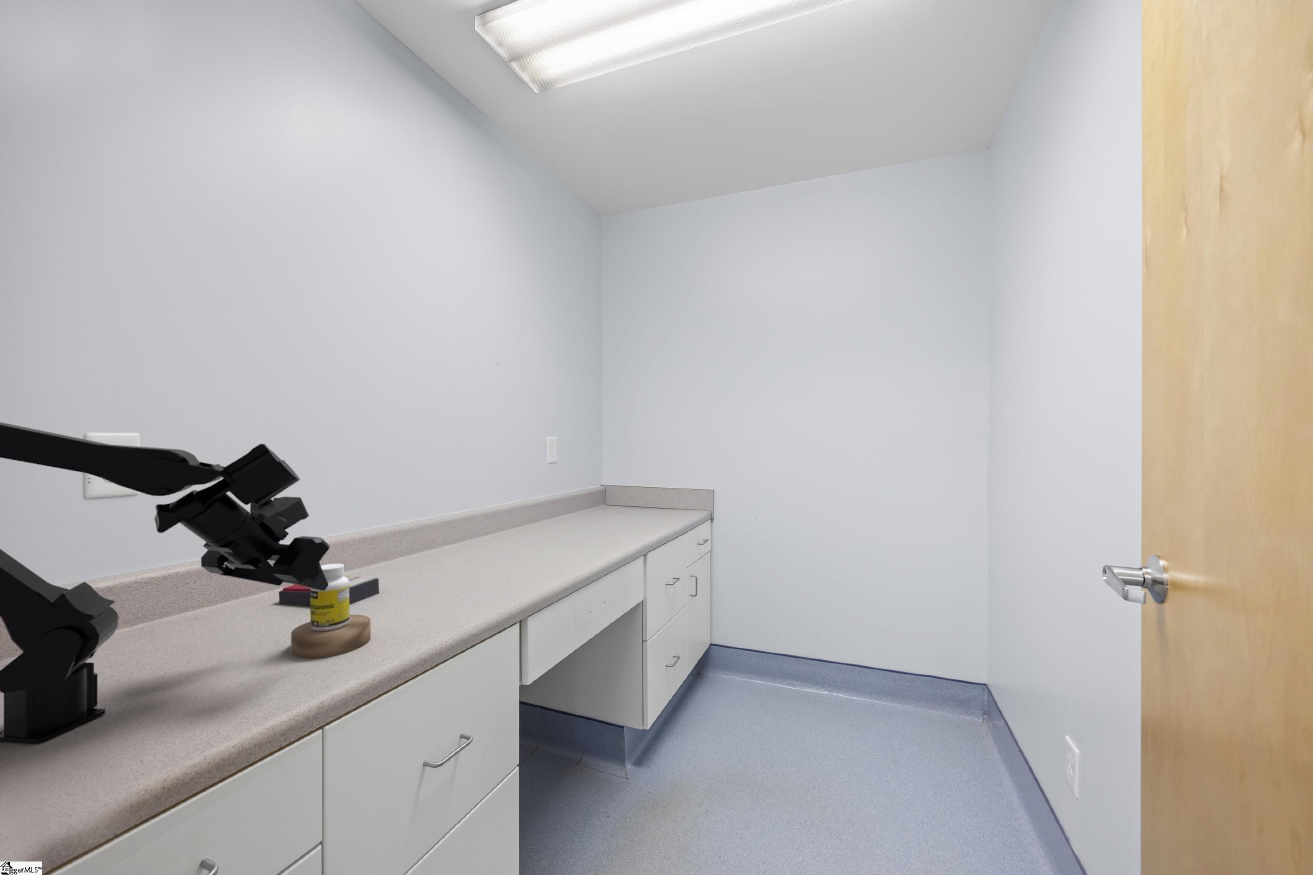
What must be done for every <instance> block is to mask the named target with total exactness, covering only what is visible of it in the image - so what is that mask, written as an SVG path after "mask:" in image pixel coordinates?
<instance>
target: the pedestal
mask: <svg viewBox="0 0 1313 875" xmlns="http://www.w3.org/2000/svg"><path fill="white" fill-rule="evenodd" d="M371 625H372V624H371V618H370V617H369V616H367V615H363V614H349V623H348V624H347V625H345V626H343V627H341V628H338V629H334V630H328V631H315V630H312V629H311V620H310V621H307V622H305V623H302V624H300V625H299V626H296V627H295V628H294V629H292V630H291V637H290V640H291V642H290V643H291V644H290V648H291V649H290V650H291V651H290V652H291V655H292V656H293V657H296V658H300V659H320V658H328V657H333V656H338V655H343V654H346V653H348V652H349V653H350V652H353V651H355V650H358V649H360V648H362V647H364V646H365V645H366V644H368V643H369V642H371V636H372V635H371V630H372V629H371Z"/></svg>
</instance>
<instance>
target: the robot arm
mask: <svg viewBox="0 0 1313 875" xmlns="http://www.w3.org/2000/svg"><path fill="white" fill-rule="evenodd" d="M0 459H6V460H11V461H18V462H23V463H29V464H34V465H39V466H46V467H51V468H57V469H62V470H67V471H71V472H78V473H83V474H88V475H91V476H93V477H94V476H95V477H98V478H99V479H103V480H105V481H106V482H110V483H111V484H115V485H117V486H119V487H122V488H127V489H130V490H132V491H135V492H139V493H141V494H144V495H147V496H151V497H164V496H165V497H166V496H171V495H174V494H177V493H180V492H184V491H186V490H188V489H190V488H192V487H193V486H200V485H206V484H209V483H213V482H215V483H213V484H211V485H210V486H208V487H205V488H202V489H200V490H196V489H194V490H191V491H189V492H188V493H187V494H185V495H183V496H182V497H180V498H177V500H175V501H172V502H170V503H165V504H160V503H159V504H156V505H155V512H156V513H155V517H154V522H155V527H156V528H155V529H156V532H157V533H158V534H163V533H165V532H166V531H168V530H170V529H171V528H173V527H175V526H177V525H178V524H181V525H182V526H183V527H185V528H186V529H187V530H189V531H190V532H191V533H192V534H194V535H196V537H197V536H198V538H200V539H201V540H203V541H204V542H205V543H204V544H203V545H202V547H204V549H206V550H207V551H206V552H204V554H203V555H202V556H201V557H200V562H201V563H200V566H201V567H202V568H203V569H204V570H206V571H207V572H209V573H210V574H218V575H220V576H221V577H223V576H224V577H231V578H234V579H240V580H246V581H252V582H258V583H262V584H268V585H273V586H281V585H283V583H286V584H291V585H299V586H304V587H308V588H313V589H317V590H322V591H324V590H325V589H326V588H327V587H328V582H327V580H326V577H325V575H324V573H323V571H322V568H321V566H322V565H321V562H320V561H321V560H322V559H323V557H324V556H325V555H326V553H327V552H328V551H329V549H330V545H329V543H328V542H326V541H325V540H324V539H323V538H322V537H320V536H319V537H318V536H306V535H304V536H303V535H302V536H297V537H294V538H293V539H292V541H291V542H290V543H289V544H286V543H285V544H284V543H280V542H281V541H284V540H285V539H286V538H287V537H288V536H289V534H290V533H289V532H288V531H287V530H288V529H289V528H291V527H292V526H295V525H296V524H297V523H299V522H300V521H302V520H303V521H304V520H306V519H307V518H309V516H310V514H309V512H308V511H307V508H306V506H305V503H304V502H303V499H302V497H300V496H299V497H297V496H281V497H276V496H278V495H279V494H280V493H282V492H284V491H285V490H287V489H289V488H290V487H292V486H293V485H294V484H296V483H298V482H299V481H300V480H301V478H300V477H299V476H298V474H297V473H296V472H295V471H294V470H293V468H292V467H291V466H290V465H289V464H288V463H287V462H286V461H285V459H281V458H280V457H279V456H278V455H277V454H276V453H275V452H274V451H272V450H271V449H270V448H269V447H268V446H267V445H266V444H265V443H260V444H257V445H256V446H255V447H254V446H253V447H252V448H251V449H250V450H249V452H247V453H246V454H244V455H243V456H240V457H239V458H238V459H236V460H234V461H232V462H231V463H229V464H227V465H226V466H223V465H220V464H219V463H218V464H213V463H208V462H202V461H199V459H198V458H197V457H196V455H194V454H193V453H191V452H189V451H186V450H183V449H177V448H176V449H175V448H164V447H151V446H135V445H121V444H120V445H119V444H109V443H104V442H99V441H96V440H95V441H94V440H89V439H85V438H80V437H74V436H71V435H70V436H69V435H64V434H60V433H55V432H50V431H46V430H41V429H35V428H31V427H25V426H20V425H16V424H11V423H5V422H2V421H1V422H0ZM216 481H217V482H216ZM228 493H230V494H232V495H233V496H234V497H235V498H236V500H235V499H234V498H233V497H232V496H230V494H228ZM237 500H238V501H239V502H241V503H242V504H244V505H245V506H247V505H249V504H250V508H249V511H248V510H247V509H246V507H244V506H243V505H242V504H240V503H238V501H237ZM269 561H273V563H272V564H271V562H269ZM115 602H116V601H115V600H113V599H108V598H106V597H104V596H102V595H100V594H99V592H97V591H96V590H95V589H94V588H93V587H92V585H90V584H89V583H87V582H86V581H82V582H81V583H79V584H77V585H75V586H74V587H71V588H70V589H68V588H65V587H62V586H59V585H55V584H52V583H50V582H48V581H46V580H45V579H43V578H42V577H41V576H39V575H38V574H36V572H33V571H32V570H31V569H29V568H28V567H27V566H25V565H23V564H22V563H21V562H19V561H18V560H17V559H15V558H14V557H13V556H11V555H10V554H8V553H7V552H5V551H4V550H3V549H1V548H0V618H1V621H2V624H3V625H4V628H5V630H6V631H7V633H8V635H9V638H10V640H11V642H12V643H13V644H15V646H17V648H18V649H20V650H21V651H22V653H20V654H19V655H17V657H15V658H14V659H13V660H11V661H10V662H8V664H6V665H5V666H4V667H2V668H1V669H0V693H1V694H3V730H0V742H1V741H2V742H15V743H30V744H31V743H33V744H38V743H42V742H45V741H47V740H49V739H51V738H53V737H56V736H58V735H61V734H62V733H65V732H67V731H69V730H72V729H74V728H76V727H78V726H81V725H82V724H85V723H87V722H89V721H91V720H94V719H95V718H98V717H100V716H103V715H104V714H106V708H98V703H99V700H98V698H99V697H98V691H99V689H98V686H99V684H98V683H99V681H98V680H99V679H98V676H99V675H98V673H97V672H95V662H87V661H88V660H90V659H92V658H93V657H94V656H95V654H96V652H97V650H98V648H100V647H101V646H102V645H104V643H106V642H107V641H108V640H109V639H110V638H111V637H112V636H113V635H115V632H116V630H117V628H118V625H119V618H120V617H119V615H118V612H117V611H116V610H115V608H113V607H112V605H114V604H115Z"/></svg>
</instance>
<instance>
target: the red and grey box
mask: <svg viewBox="0 0 1313 875" xmlns="http://www.w3.org/2000/svg"><path fill="white" fill-rule="evenodd" d="M343 577H346V578H347V579H348V580H349V606H350V605H352V604H355V603H359V602H361V601H363V600H366V599H369V598H371V597H374V596H376V595H379V594H380V586H379V584H380V583H379V582H380V581H379V579H380V578H378V577H376V576H361V577H360V575H343ZM278 602H279V603H278V604H279V605H284V604H286V606H296V605H298V606H297V607H310V588H308V587H304V586H299V585H294V584H291V585H288V586H285V587H283V588H282V589H281V590H279V591H278ZM300 605H301V606H300Z"/></svg>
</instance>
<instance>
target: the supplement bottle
mask: <svg viewBox="0 0 1313 875" xmlns="http://www.w3.org/2000/svg"><path fill="white" fill-rule="evenodd" d="M321 568H322V571H323V573H324V575H325V577H326V580H327V582H328V587H327V588H326V589H325V590H324V591H322V590H317V589H313V588H310V606H309V607H310V608H309V609H310V621H311V629H312V630H315V631H328V630H334V629H338V628H341V627H343V626H345V625H347V624H348V623H349V615H350V605H349V580H348V579H347V578H346V577H343V576H344V573H345V565H344V564H343V563H329V564H323V565H321Z"/></svg>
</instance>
